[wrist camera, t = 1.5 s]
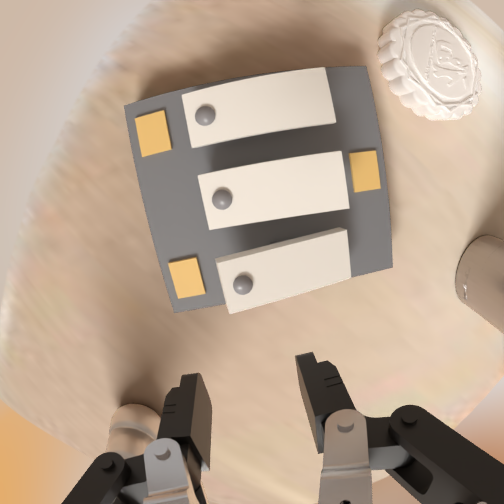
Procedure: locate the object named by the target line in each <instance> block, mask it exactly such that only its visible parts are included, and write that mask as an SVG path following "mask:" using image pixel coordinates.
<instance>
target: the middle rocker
mask: <svg viewBox="0 0 504 504" xmlns="http://www.w3.org/2000/svg"><path fill="white" fill-rule="evenodd" d="M198 180H199V185H200V190H201V194H202V199H203V204H204V208H205V213H206V217H207V222H208V226H209V230H213V229H219V228H225V227H231V226H237V225H243V224H249V223H255V222H262V221H268V220H274V219H281V218H287V217H294V216H301V215H307V214H314V213H321V212H328V211H335V210H342V209H349V200H348V192H347V185H346V178H345V171H344V164H343V158H342V151H333V152H326V153H318V154H311V155H304V156H298V157H291V158H285V159H279V160H273V161H267V162H261V163H255V164H250V165H245V166H239V167H234V168H229V169H224V170H219V171H214V172H209V173H205V174H201V175H198Z"/></svg>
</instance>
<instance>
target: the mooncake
mask: <svg viewBox="0 0 504 504" xmlns="http://www.w3.org/2000/svg"><path fill="white" fill-rule="evenodd" d="M378 45H379V47H380V50H379V51H378V54H377V56H378V60H379V61H380V63H381V64H382V67H381V72H382V75H383V76H384V78H385V79H387V80H388V81H389V88H390V90H391V91H392V92H393V93H394V94H395V95H398V96H399V99H400V102H401V103H402V104H403V105H404V106H405V107H408V108H412V110H413V112H414V113H415V114H416V115H418V116H426V117H427V118H428V119H429V120H432V121H434V120H454V119H460V118H462V117H463V115H468V114H470V113H471V112H472V109H473V107H474V106H476V105H477V104H478V101H479V98H478V95H479V94H480V93H481V90H482V88H481V84H480V82H479V81H480V80H481V72H480V70H479V68H478V60H477V58H476V56H475V55H474V53H472V48H471V45H470V44H469V42H468V41H467V40H466V39H464V38H463V36H462V33H461V32H460V31H459V29H457V28H456V27H453V26H452V25H451V23H450V22H449V21H448V20H447V19H445V18H443V17H438V15H437V14H435V13H434V12H431V11H427V12H424V11H423V10H420V9H415V10H413V11H412V12H410V11H405V12H403V13H402V14H400V15H399V16H398V17H396V18H395V19H393V20H392V21H391V22H390V23H389V24H388V25H386V26H385V27H384V28H383V35H382V36H381V37H379V39H378Z"/></svg>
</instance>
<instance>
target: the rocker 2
mask: <svg viewBox="0 0 504 504" xmlns="http://www.w3.org/2000/svg"><path fill="white" fill-rule="evenodd" d="M215 260H216V265H217V269H218V273H219V277H220V281H221V285H222V290H223V294H224V298H225V302H226V306H227V309H228V311H229V314H233V313H236V312H240V311H243V310H247V309H251V308H254V307H258V306H261V305H265V304H268V303H272V302H275V301H279V300H282V299H286V298H289V297H292V296H296V295H299V294H302V293H306V292H309V291H312V290H315V289H319V288H322V287H325V286H328V285H331V284H334V283H338V282H341V281H344V280H347V279H350V278H351V268H350V256H349V246H348V236H347V230H346V229H343V228H340V227H338V228H334V229H330V230H326V231H322V232H318V233H314V234H310V235H306V236H302V237H298V238H294V239H290V240H286V241H282V242H278V243H274V244H270V245H266V246H262V247H259V248H255V249H251V250H247V251H243V252H239V253H235V254H231V255H227V256H223V257H219V258H215Z"/></svg>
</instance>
